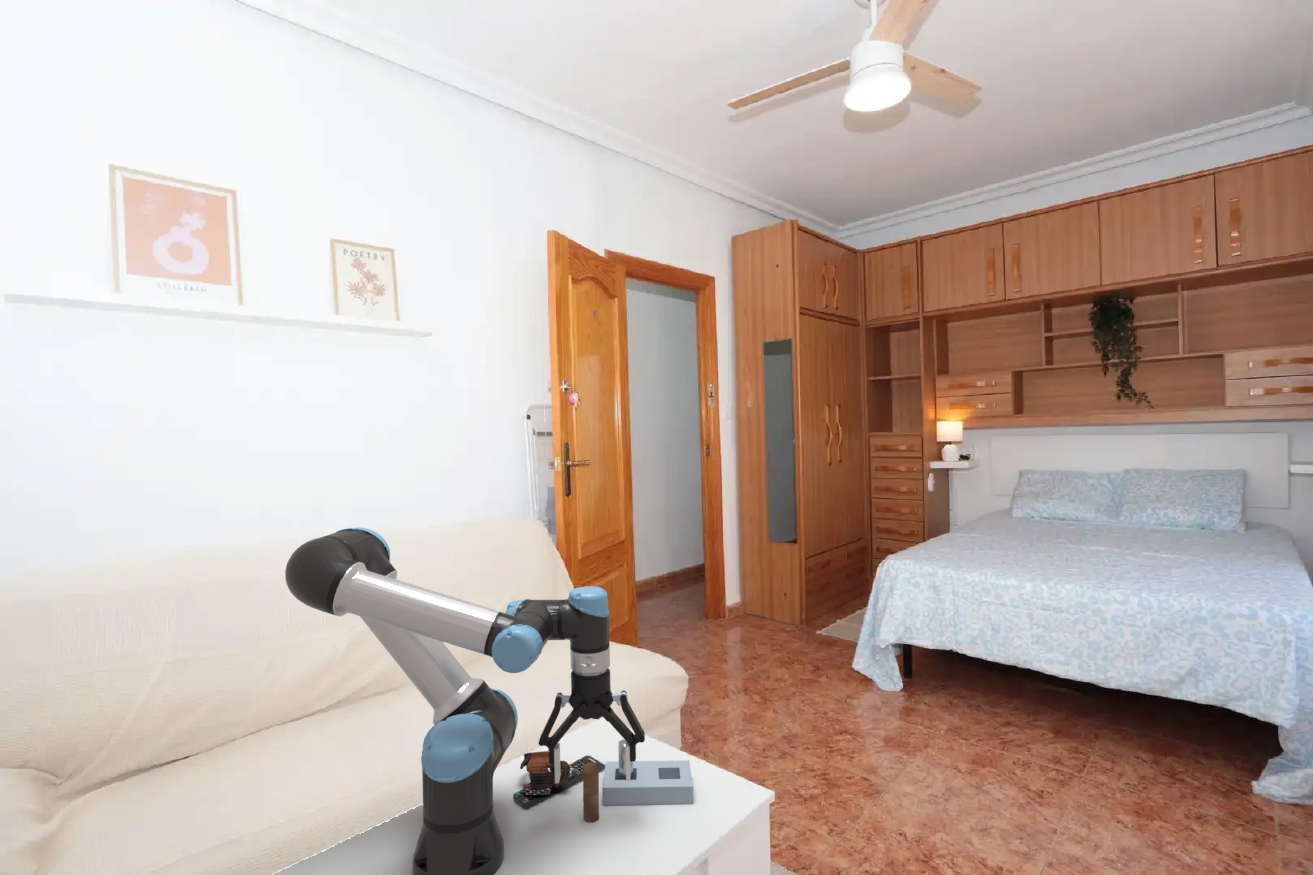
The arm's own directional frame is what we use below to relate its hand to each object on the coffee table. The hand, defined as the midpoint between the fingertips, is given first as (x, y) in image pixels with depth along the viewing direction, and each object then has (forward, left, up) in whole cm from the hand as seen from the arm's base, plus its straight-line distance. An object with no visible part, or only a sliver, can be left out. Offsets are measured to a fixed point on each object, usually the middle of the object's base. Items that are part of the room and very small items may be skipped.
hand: (593, 778), depth 126 cm
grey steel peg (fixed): (+6, +9, -8) cm, 13 cm away
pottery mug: (-11, +12, -8) cm, 18 cm away
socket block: (+11, +9, -8) cm, 16 cm away
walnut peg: (0, 0, -8) cm, 8 cm away
